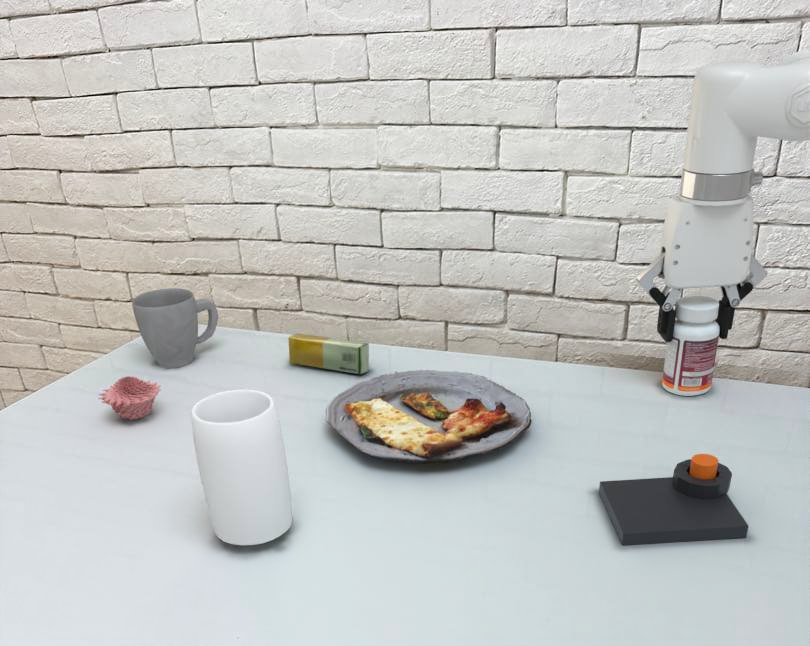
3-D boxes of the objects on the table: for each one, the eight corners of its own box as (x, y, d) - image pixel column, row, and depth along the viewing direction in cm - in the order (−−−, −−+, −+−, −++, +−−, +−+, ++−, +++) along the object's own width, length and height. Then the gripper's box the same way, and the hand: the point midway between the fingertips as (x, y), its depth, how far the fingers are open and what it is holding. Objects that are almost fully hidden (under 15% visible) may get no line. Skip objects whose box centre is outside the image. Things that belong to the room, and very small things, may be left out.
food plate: (568, 438, 101) (569, 411, 99) (398, 497, 91) (396, 469, 90) (452, 372, 119) (451, 348, 117) (300, 416, 110) (297, 390, 108)
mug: (157, 377, 123) (142, 312, 117) (138, 359, 129) (123, 296, 124) (234, 357, 128) (223, 294, 123) (212, 341, 134) (201, 279, 129)
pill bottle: (719, 386, 111) (733, 300, 105) (694, 401, 108) (708, 313, 101) (677, 374, 115) (688, 291, 108) (651, 388, 111) (662, 303, 105)
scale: (716, 482, 91) (720, 457, 89) (754, 537, 82) (759, 511, 80) (597, 489, 91) (599, 464, 89) (621, 545, 82) (624, 519, 80)
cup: (206, 523, 89) (180, 397, 81) (285, 504, 91) (266, 381, 84) (222, 566, 82) (194, 434, 75) (306, 545, 85) (288, 415, 77)
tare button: (711, 467, 88) (713, 452, 87) (719, 480, 86) (722, 465, 85) (685, 469, 88) (688, 454, 87) (693, 481, 86) (696, 466, 85)
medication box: (370, 370, 121) (370, 342, 119) (361, 375, 119) (361, 347, 117) (297, 358, 126) (296, 331, 124) (288, 363, 124) (286, 336, 122)
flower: (178, 415, 112) (170, 375, 109) (123, 436, 107) (113, 396, 104) (147, 399, 117) (138, 360, 113) (93, 419, 112) (82, 379, 109)
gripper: (776, 174, 101) (750, 322, 111) (630, 183, 100) (617, 330, 110) (804, 188, 94) (772, 343, 104) (648, 197, 94) (632, 352, 104)
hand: (692, 335), depth 107 cm, fingers closed on pill bottle, 6 cm apart
